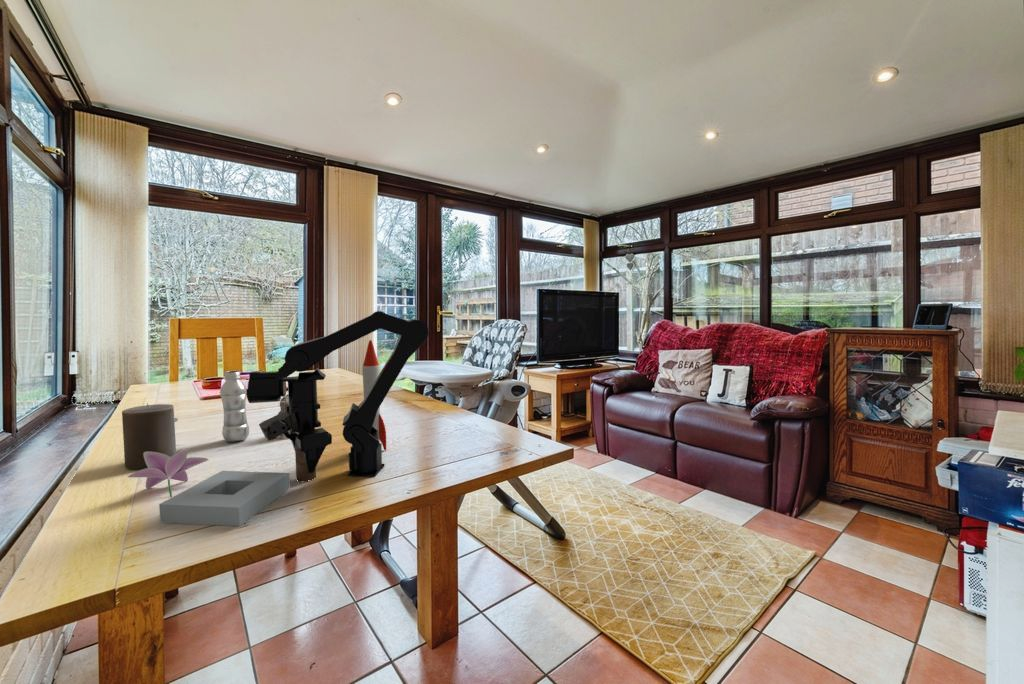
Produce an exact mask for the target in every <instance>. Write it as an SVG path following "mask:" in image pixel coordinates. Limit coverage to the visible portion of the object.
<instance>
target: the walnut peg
mask: <svg viewBox="0 0 1024 684" xmlns="http://www.w3.org/2000/svg"><path fill="white" fill-rule="evenodd" d="M296 446H297V443H296V440H295V450H294V453H295V454H294V455H295V457H294V458H295V475H296V476H295V477H296V479H297V480H298V481H307V482H309V481H308V480H311V481H313V480H315V479H316V478H317V469H316V468H317V467H316V468H315V471H314V472H313V473H308V470H307V466H306V462H305V457H304V453H303V452H302V451H300V450H299V449H298V448H297V447H296ZM315 477H316V478H315ZM314 478H315V479H314ZM312 479H313V480H312ZM297 480H296V481H297ZM298 481H297V482H298Z"/></svg>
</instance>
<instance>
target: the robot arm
mask: <svg viewBox="0 0 1024 684" xmlns="http://www.w3.org/2000/svg"><path fill="white" fill-rule="evenodd" d="M427 325H428V324H426V323H425V322H424V321H423V320H420V319H417V318H410V319H405V318H404V319H403V318H401V317H397V316H394V315H390V314H389V313H385V312H384V311H381V310H377V311H373V312H372V313H371V314H370V315H368V316H365V317H363V318H362V319H359V320H358V321H357V320H356V322H354V323H351V324H349V325H346V326H345V327H342V328H340V329H338V330H336V331H334V332H331V333H330V334H328V335H325V336H321V337H318V338H314V339H309V340H307V341H303V342H300V343H296V344H295V345H293V346H291V347H290V348H289V349H287V351H286V353H285V355H284V363H283V364H282V366H280V367H279V368H278V369H277V371H275V370H274V371H273V370H272V371H261V370H256V371H255V370H253V371H251V372H249V376H248V377H249V378H248V382H247V388H246V389H247V392H246V400H247V402H248V403H249V404H260V403H262V404H263V403H277V402H278V403H279V402H280V401H281V399H282V398H283V397H285V396H286V395H287V392H288V397H289V404H287V406H285V412H283V413H281V414H278V413H277V415H275V416H272V417H269V418H268V419H265V420H263V421H261V422H260V423H259V424H258V426H259V428H260V430H261V432H262V434H263V436H264V438H265V439H266V440H267V441H268V442H269V441H273V440H276V439H277V436H279V435H281V434H284V435H285V436H286V437H287V438H288V439H287V440H290V441H291V443H292V446H293V450H294V451H295V440H296V443H297V446H296V447H297V448H298V449H299V450H300V451H302V452H303V453H304V457H305V462H306V466H307V470H308V473H313V472H314V471H315V468H317V465H318V463H319V462H320V460H321V457H322V455H323V453H324V451H325V449H326V447H327V446H328V445H331V444H332V443H333V437H332V436H333V435H332V434H331V433H330V432H328V431H327V430H326V429H325V428H323V427H322V422H321V421H319V411H318V410H320V409H321V404H320V403H319V402H318V386H317V381H323V380H325V378H326V374H325V373H324V372H323V371H321V370H320V367H319V368H318V367H316V368H315V370H314V371H307V370H309V369H310V368H312V367H314V366H315V365H316V364H317V363H319V362H320V361H322V360H323V359H324V358H326V357H327V356H329V355H330V354H331V353H333V352H334V351H336V350H338V349H340V348H342V347H344V346H347V345H349V344H351V343H353V342H356V341H358V340H359V339H361V338H364V337H366V336H367V335H369V334H372V333H374V332H376V331H378V330H380V329H381V330H383V331H386V332H390V333H393V334H396V335H398V337H397V339H396V342H395V346H394V349H393V351H392V352H391V354H390V356H389V358H388V359H387V361H386V362H385V364H384V366H383V368H382V369H381V370H380V374H379V376H378V377H377V379H376V381H375V382H374V384H373V386H372V387H371V389H370V391H369V392H368V394H367V396H366V397H365V399H364V398H363V400H362V401H360V402H359V404H355V403H354V402H353V403H352V404H351V407H350V409H349V411H348V412H347V414H346V415H344V416H343V420H342V426H343V429H342V436H343V439H344V440H345V442H347V443H348V444H351V446H350V451H349V453H348V469H349V471H348V472H347V475H348V476H356V477H376V476H377V475H378V474H379V472H380V471H382V469H383V468H384V467H385V466H386V465H385V463H383V461H382V458H383V457H382V454H383V453H382V443H381V442H380V443H379V432H378V430H377V429H375V428H374V427H373V423H374V420H375V417H376V414H377V411H378V409H379V407H380V408H381V406H382V403H383V402H384V400H385V398H386V396H387V395H388V393H389V391H390V390H391V389H392V386H393V385H394V383H395V381H396V380H397V378H398V376H399V375H400V373H401V371H402V370H403V368H404V367H405V365H406V364H407V361H409V359H410V357H411V356H412V355H413V354H414V353H416V352H417V351H418V350H419V349H420V348H421V346H422V345H423V344H424V343H425V342H426V340H427V339H428V337H429V334H430V333H429V327H428V326H427ZM295 372H298V375H296V376H291V375H292V374H293V373H295Z"/></svg>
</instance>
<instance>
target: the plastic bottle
mask: <svg viewBox="0 0 1024 684" xmlns="http://www.w3.org/2000/svg"><path fill="white" fill-rule="evenodd" d="M241 378H242V376H241V371H240V370H229V371H225V372H224V379H225V382H224V383H223V384H222V385H221V386H220V390H219V393H220V398H221V403H222V409H223V426H222V432H221V434H222V438H223V440H224V441H225V442H231V443H233V442H239V441H244V440H246V439H247V438H248V437H249V435H250V426H249V424H248V419H247V414H246V413H247V410H246V404H247V402H246V400H247V389H248V388H247V386H246V384H245V383H244V382H243V381H242V380H241Z"/></svg>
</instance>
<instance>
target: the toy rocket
mask: <svg viewBox="0 0 1024 684" xmlns="http://www.w3.org/2000/svg"><path fill="white" fill-rule="evenodd" d="M376 354H377V353H376V351H375V346H374V343H373V341H372V340H371V339H370V340H368V345H367V348H366V353H365V357H364V360H363V361H364V362H363V364H362V386H363V387H362V389H363V400H364V399H365V397H366V396H367V394H368V392H369V391H370V389H371V387H372V386H373V384H374V382H375V381H376V379H377V377H378V376H379V374H380V372H381V369H380V364H379V360H378V358H377V357H378V356H377V355H376ZM373 427H374V428H375V429H377V430H378V432H379V443H381V446H382V447H383V451H385V450H386V451H387V429H386V425H385V422H384V419H383V417H382V415H381V406H380V407H379V409H378V411H377V414H376V417H375V420H374V423H373Z"/></svg>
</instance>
